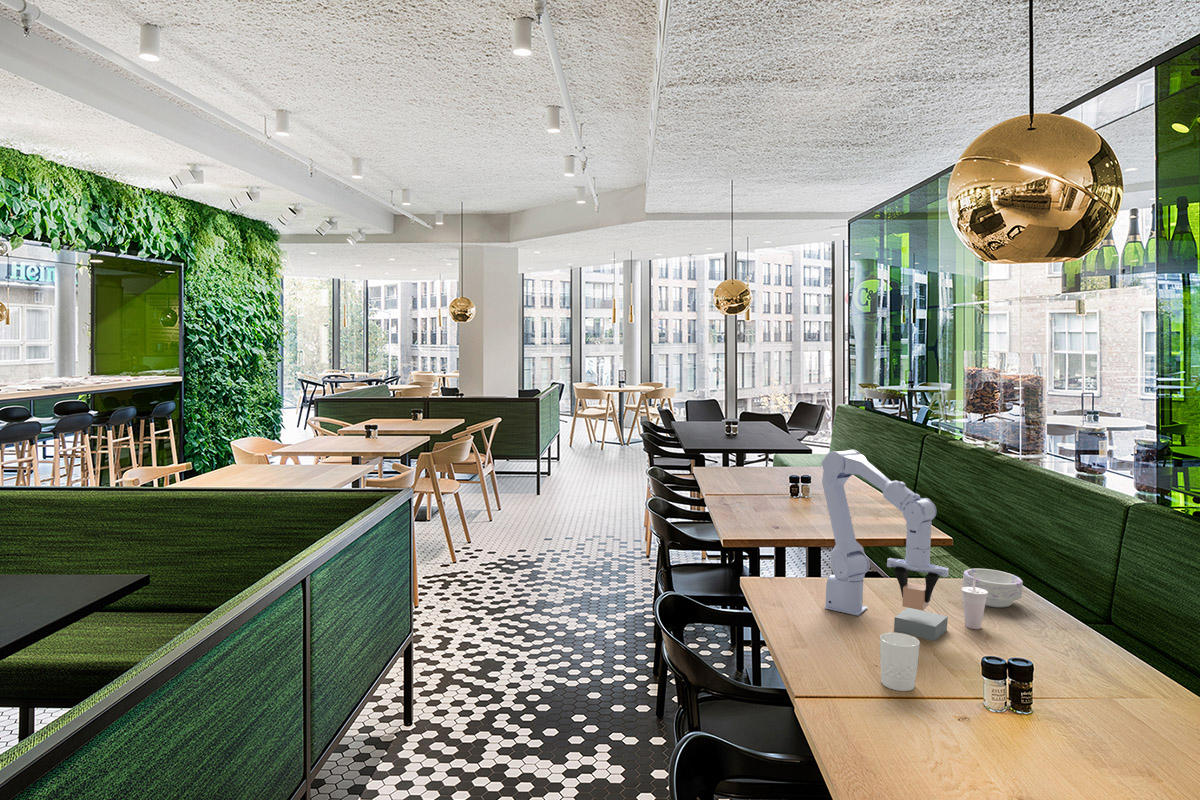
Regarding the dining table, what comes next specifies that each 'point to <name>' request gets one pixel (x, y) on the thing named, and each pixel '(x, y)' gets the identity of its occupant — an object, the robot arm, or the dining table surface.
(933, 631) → the slate plinth
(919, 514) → the robot arm
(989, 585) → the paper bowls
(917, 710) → the dining table surface
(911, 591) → the terracotta block
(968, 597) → the smoothie
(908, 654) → the white cup
